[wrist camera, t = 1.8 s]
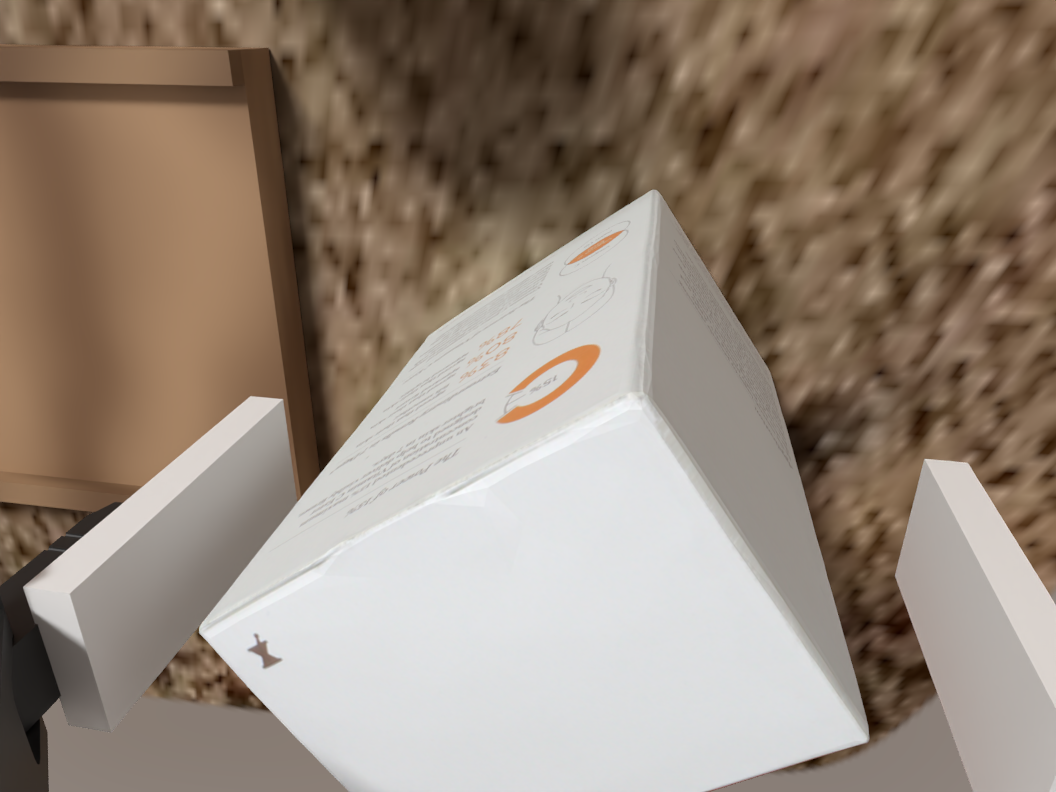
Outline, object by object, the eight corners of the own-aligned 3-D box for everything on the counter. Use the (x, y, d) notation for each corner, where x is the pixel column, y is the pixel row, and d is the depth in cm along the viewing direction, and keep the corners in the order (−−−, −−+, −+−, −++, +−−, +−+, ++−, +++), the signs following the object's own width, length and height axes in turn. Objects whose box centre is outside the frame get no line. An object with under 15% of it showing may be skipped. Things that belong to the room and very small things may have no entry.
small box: (544, 493, 25) (428, 892, 14) (424, 333, 24) (177, 631, 12) (779, 372, 22) (885, 753, 11) (660, 180, 21) (634, 381, 9)
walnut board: (-39, 461, 29) (-89, 491, 27) (-183, 42, 23) (-259, 43, 21) (323, 499, 27) (296, 535, 25) (268, 47, 21) (227, 50, 19)
